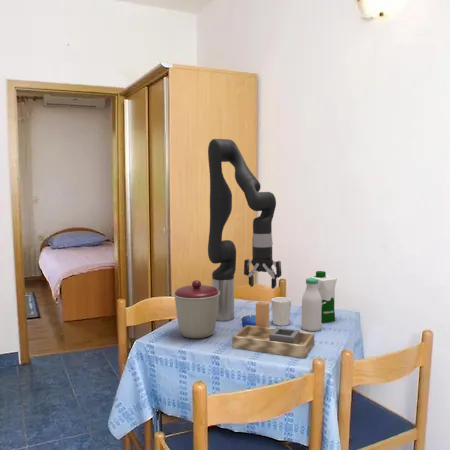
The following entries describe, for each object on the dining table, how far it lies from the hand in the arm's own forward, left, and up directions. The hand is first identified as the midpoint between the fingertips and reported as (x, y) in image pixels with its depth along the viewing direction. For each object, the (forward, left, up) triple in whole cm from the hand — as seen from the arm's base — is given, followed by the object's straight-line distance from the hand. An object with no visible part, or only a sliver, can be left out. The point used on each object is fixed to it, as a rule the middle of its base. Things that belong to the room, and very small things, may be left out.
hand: (262, 287), depth 181 cm
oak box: (+8, -11, -18) cm, 23 cm away
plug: (0, 0, -18) cm, 18 cm away
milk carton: (+18, +26, -18) cm, 37 cm away
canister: (-23, -10, -18) cm, 31 cm away
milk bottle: (+16, +13, -18) cm, 28 cm away
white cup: (+3, +15, -18) cm, 24 cm away
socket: (+12, -11, -18) cm, 24 cm away
